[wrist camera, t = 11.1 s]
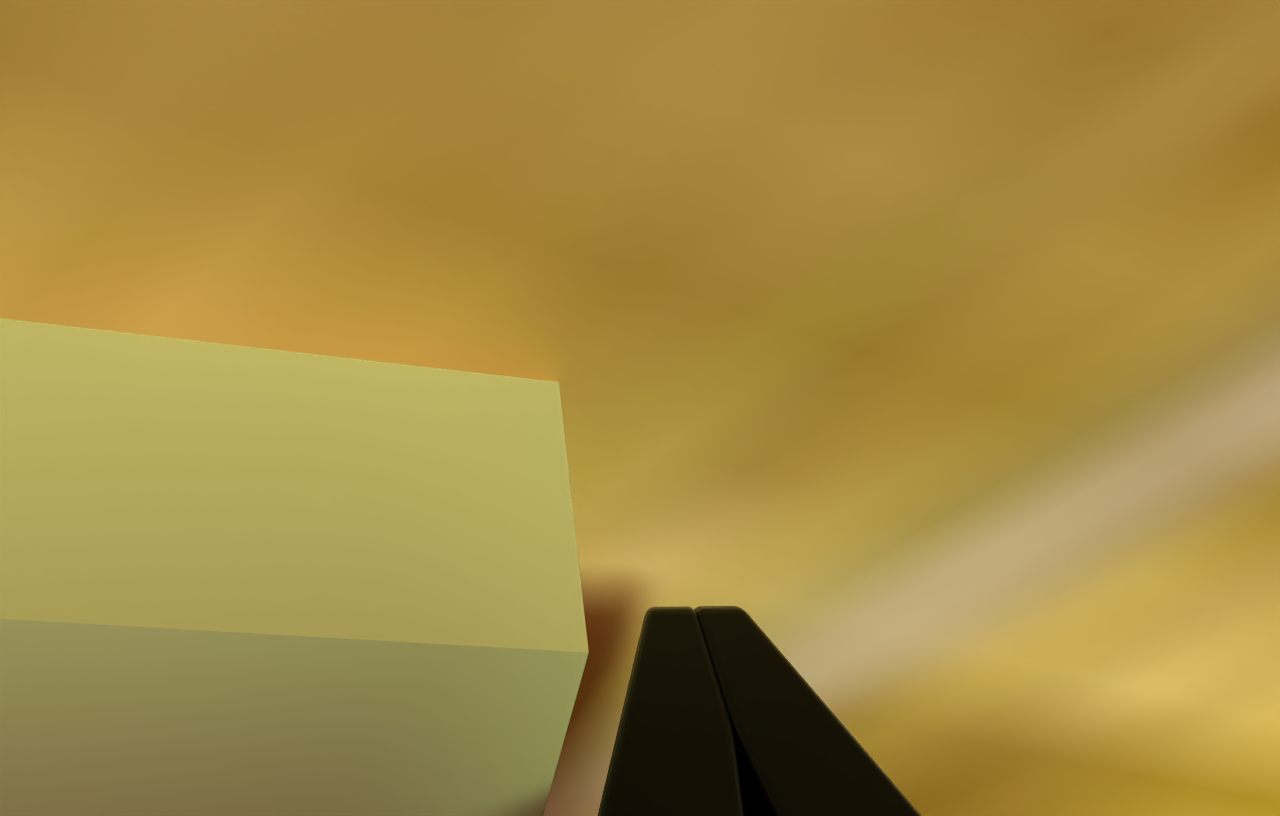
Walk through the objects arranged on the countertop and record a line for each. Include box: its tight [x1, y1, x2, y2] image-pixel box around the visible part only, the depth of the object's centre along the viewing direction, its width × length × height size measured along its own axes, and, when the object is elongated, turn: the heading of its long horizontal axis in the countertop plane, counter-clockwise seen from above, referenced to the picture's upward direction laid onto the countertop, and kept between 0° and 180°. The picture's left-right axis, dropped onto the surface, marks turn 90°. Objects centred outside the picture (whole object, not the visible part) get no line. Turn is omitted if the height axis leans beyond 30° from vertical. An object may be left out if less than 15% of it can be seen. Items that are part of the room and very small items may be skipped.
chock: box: [0, 318, 589, 816], centre depth 8 cm, size 5×6×3 cm
